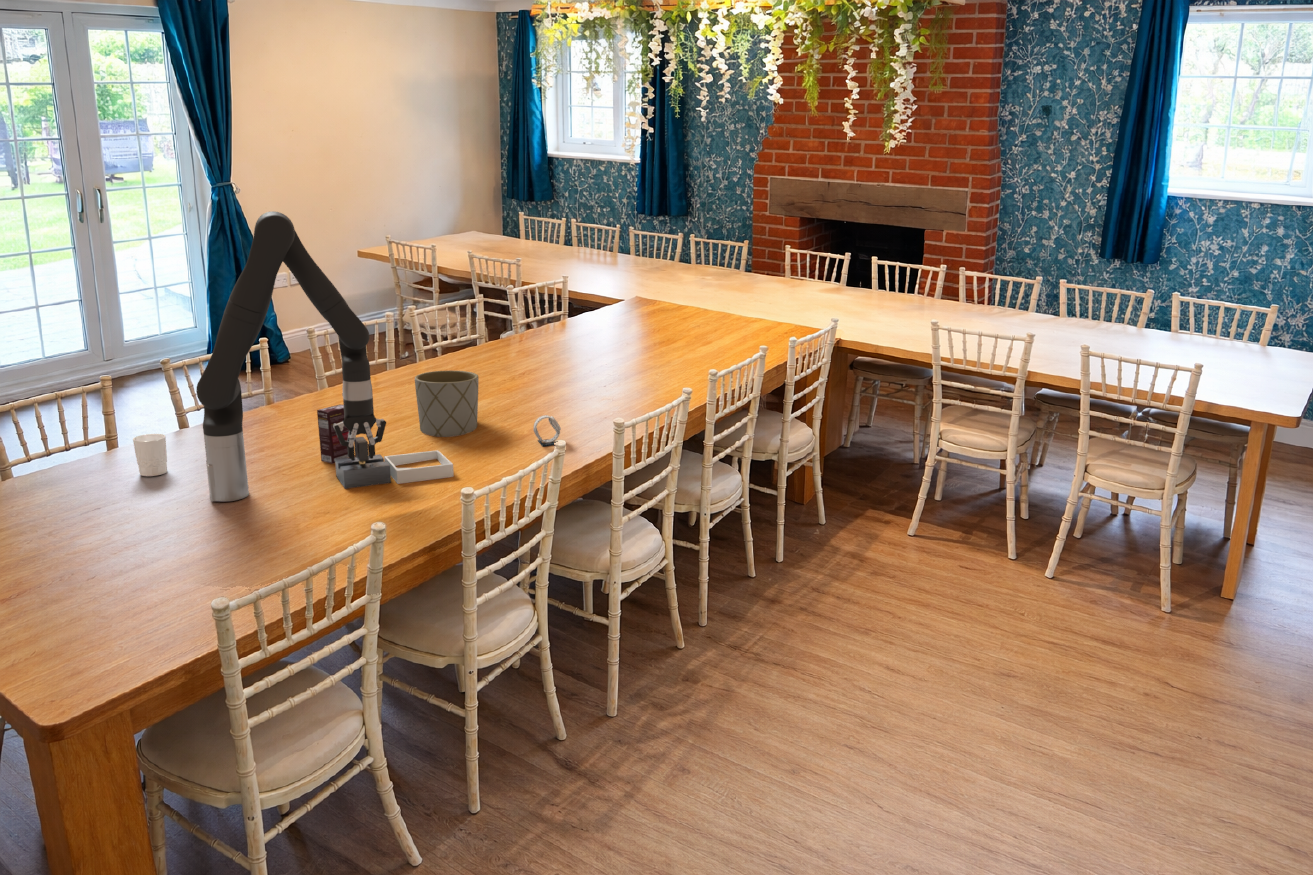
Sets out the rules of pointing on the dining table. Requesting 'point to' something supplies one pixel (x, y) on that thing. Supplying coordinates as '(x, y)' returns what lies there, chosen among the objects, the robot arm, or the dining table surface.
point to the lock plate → (362, 472)
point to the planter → (447, 402)
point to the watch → (554, 424)
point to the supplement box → (331, 433)
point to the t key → (361, 449)
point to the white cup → (151, 454)
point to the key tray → (422, 472)
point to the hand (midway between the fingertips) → (362, 458)
